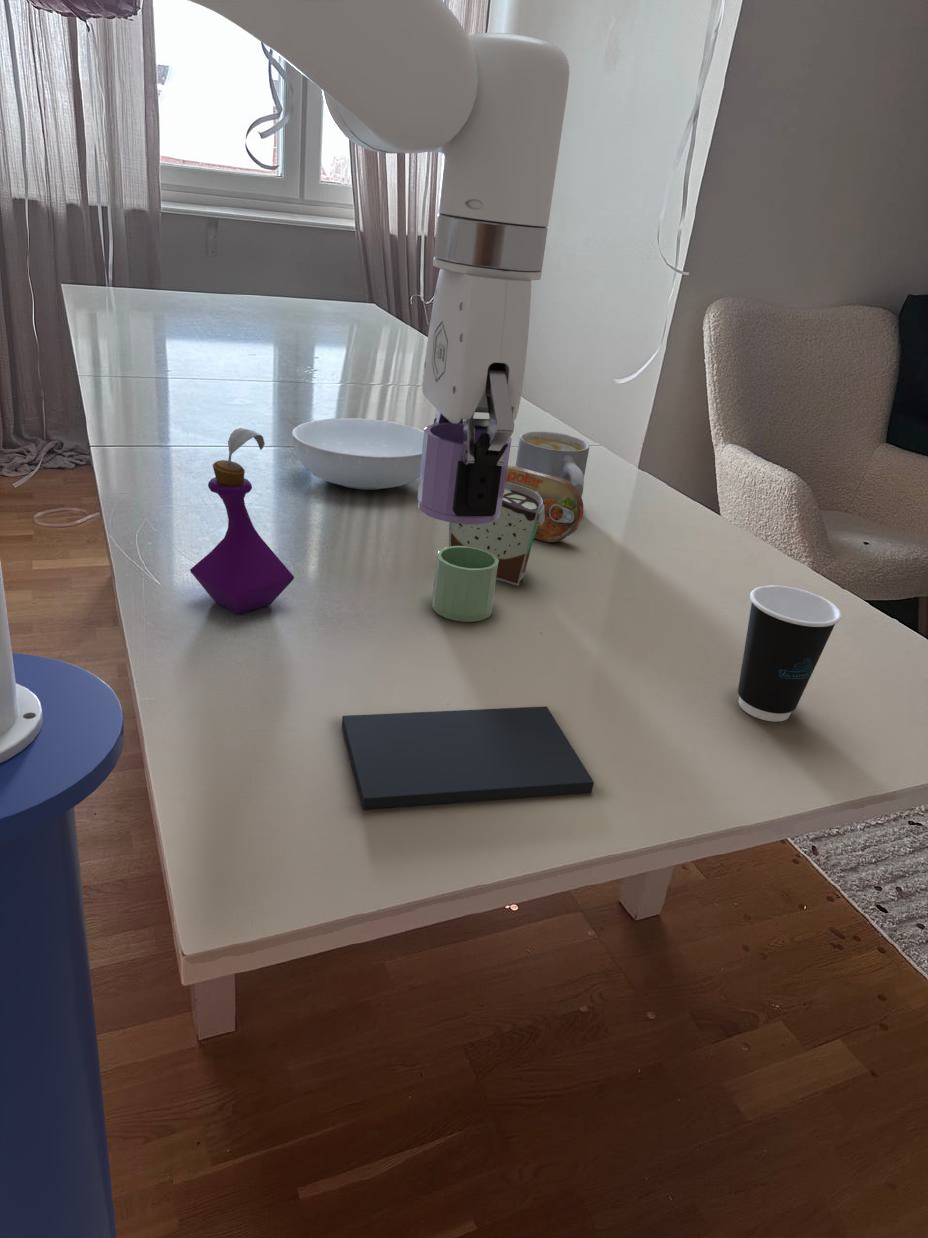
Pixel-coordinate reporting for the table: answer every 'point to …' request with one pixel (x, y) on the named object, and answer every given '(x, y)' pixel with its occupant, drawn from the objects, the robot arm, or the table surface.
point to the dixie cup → (782, 648)
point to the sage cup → (464, 583)
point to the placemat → (461, 756)
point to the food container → (506, 532)
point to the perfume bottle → (240, 544)
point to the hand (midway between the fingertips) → (460, 496)
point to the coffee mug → (554, 456)
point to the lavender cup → (448, 473)
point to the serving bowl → (360, 452)
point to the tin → (551, 502)
